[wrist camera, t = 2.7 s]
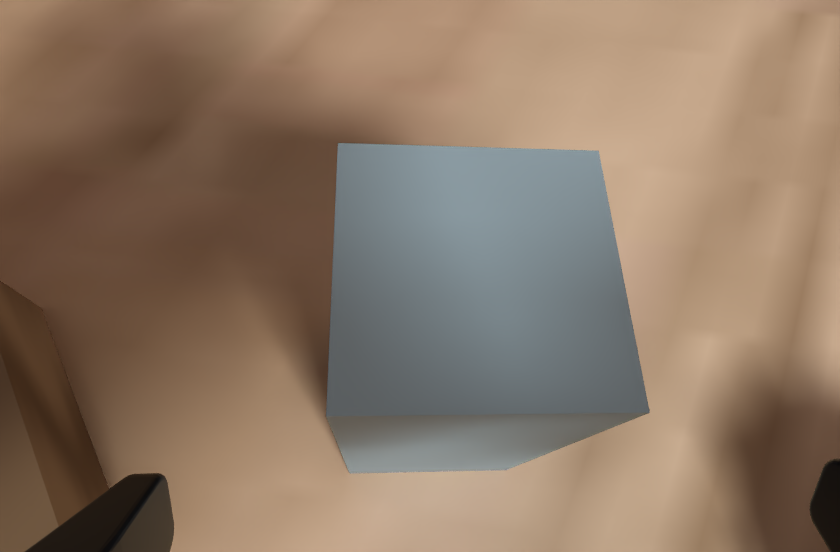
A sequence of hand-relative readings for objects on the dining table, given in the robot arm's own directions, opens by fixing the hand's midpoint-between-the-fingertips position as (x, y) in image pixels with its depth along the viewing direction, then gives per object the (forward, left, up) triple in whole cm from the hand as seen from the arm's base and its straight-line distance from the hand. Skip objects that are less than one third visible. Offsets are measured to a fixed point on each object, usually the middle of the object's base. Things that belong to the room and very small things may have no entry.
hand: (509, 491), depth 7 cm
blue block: (+3, +2, -11) cm, 11 cm away
